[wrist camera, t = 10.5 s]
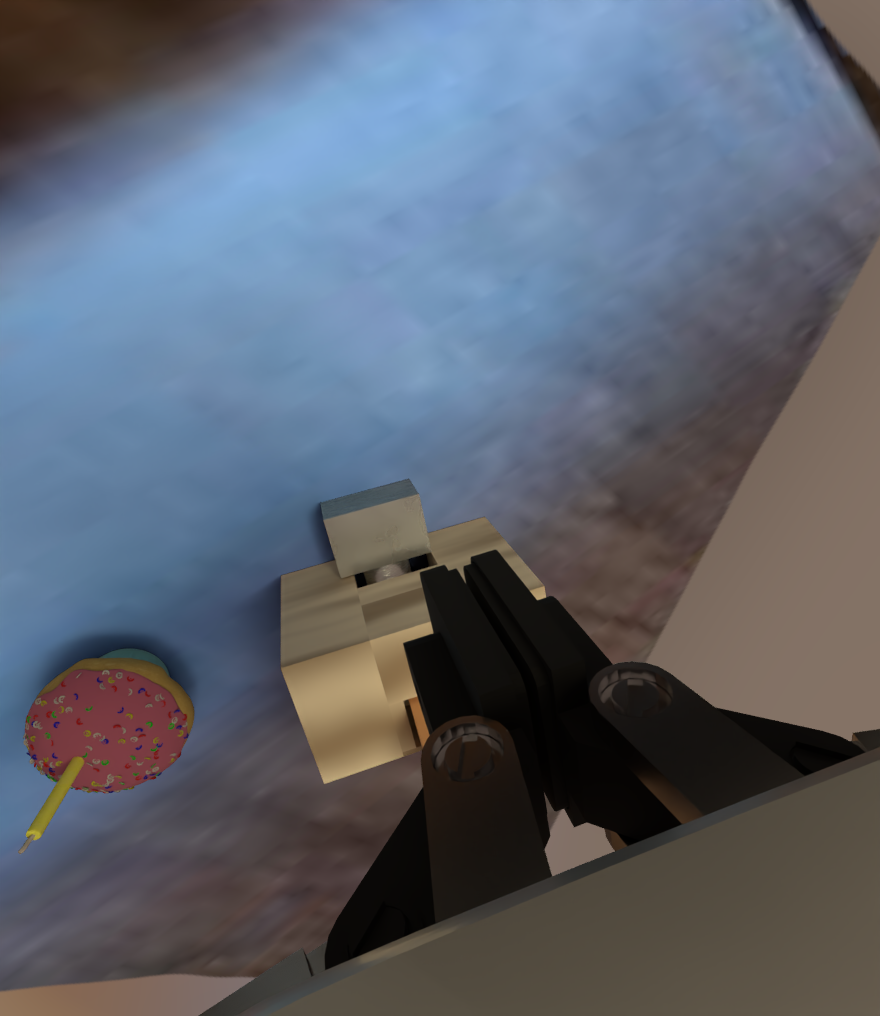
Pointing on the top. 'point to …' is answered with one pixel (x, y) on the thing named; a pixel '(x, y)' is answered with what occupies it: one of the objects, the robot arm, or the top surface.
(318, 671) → the block
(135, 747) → the cupcake
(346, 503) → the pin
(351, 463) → the top surface
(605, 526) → the top surface
